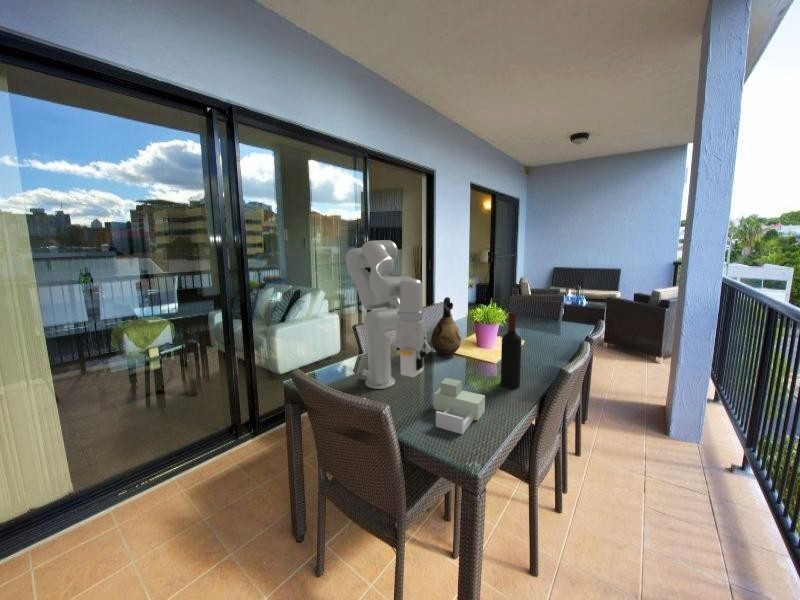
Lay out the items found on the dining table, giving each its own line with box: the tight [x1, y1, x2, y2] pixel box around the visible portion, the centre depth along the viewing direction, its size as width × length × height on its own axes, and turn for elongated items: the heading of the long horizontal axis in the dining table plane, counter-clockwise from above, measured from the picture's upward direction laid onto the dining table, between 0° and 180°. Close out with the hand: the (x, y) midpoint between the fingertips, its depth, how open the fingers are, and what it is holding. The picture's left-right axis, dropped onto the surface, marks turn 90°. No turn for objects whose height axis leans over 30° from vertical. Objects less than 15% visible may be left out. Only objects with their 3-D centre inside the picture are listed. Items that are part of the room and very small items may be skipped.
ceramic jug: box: [430, 296, 462, 359], centre depth 176 cm, size 17×15×30 cm
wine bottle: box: [500, 311, 522, 390], centre depth 136 cm, size 8×8×30 cm
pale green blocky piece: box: [433, 377, 486, 435], centre depth 114 cm, size 16×17×10 cm
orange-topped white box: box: [396, 349, 424, 378], centre depth 116 cm, size 5×9×9 cm, turn 148°
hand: (412, 366), depth 117 cm, fingers closed on orange-topped white box, 5 cm apart
